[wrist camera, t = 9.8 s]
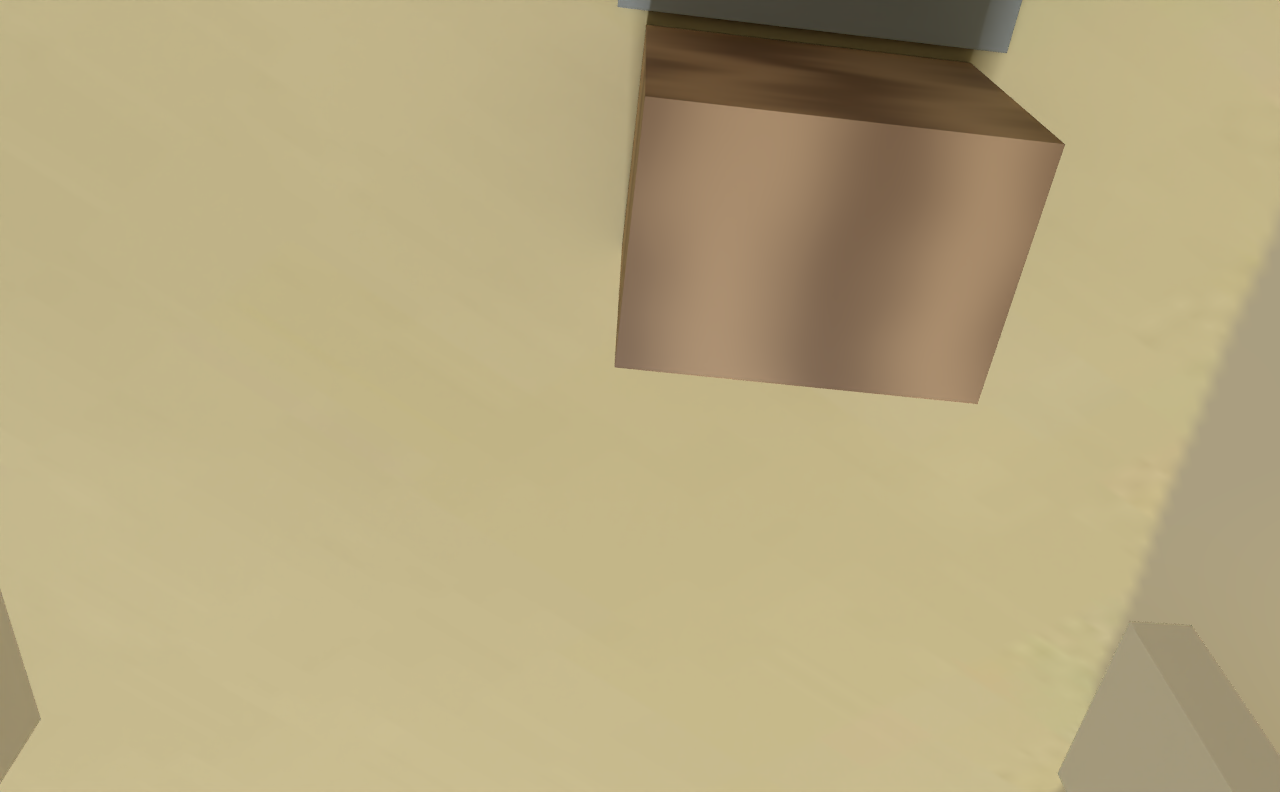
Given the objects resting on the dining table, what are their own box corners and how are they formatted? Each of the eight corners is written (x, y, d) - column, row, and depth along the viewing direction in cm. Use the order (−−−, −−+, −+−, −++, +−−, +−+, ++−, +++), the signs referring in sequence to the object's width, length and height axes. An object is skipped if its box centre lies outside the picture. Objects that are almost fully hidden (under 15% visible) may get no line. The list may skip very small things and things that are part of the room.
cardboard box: (622, 247, 37) (614, 367, 30) (646, 24, 33) (644, 96, 26) (911, 278, 38) (977, 403, 30) (970, 62, 34) (1065, 144, 26)
